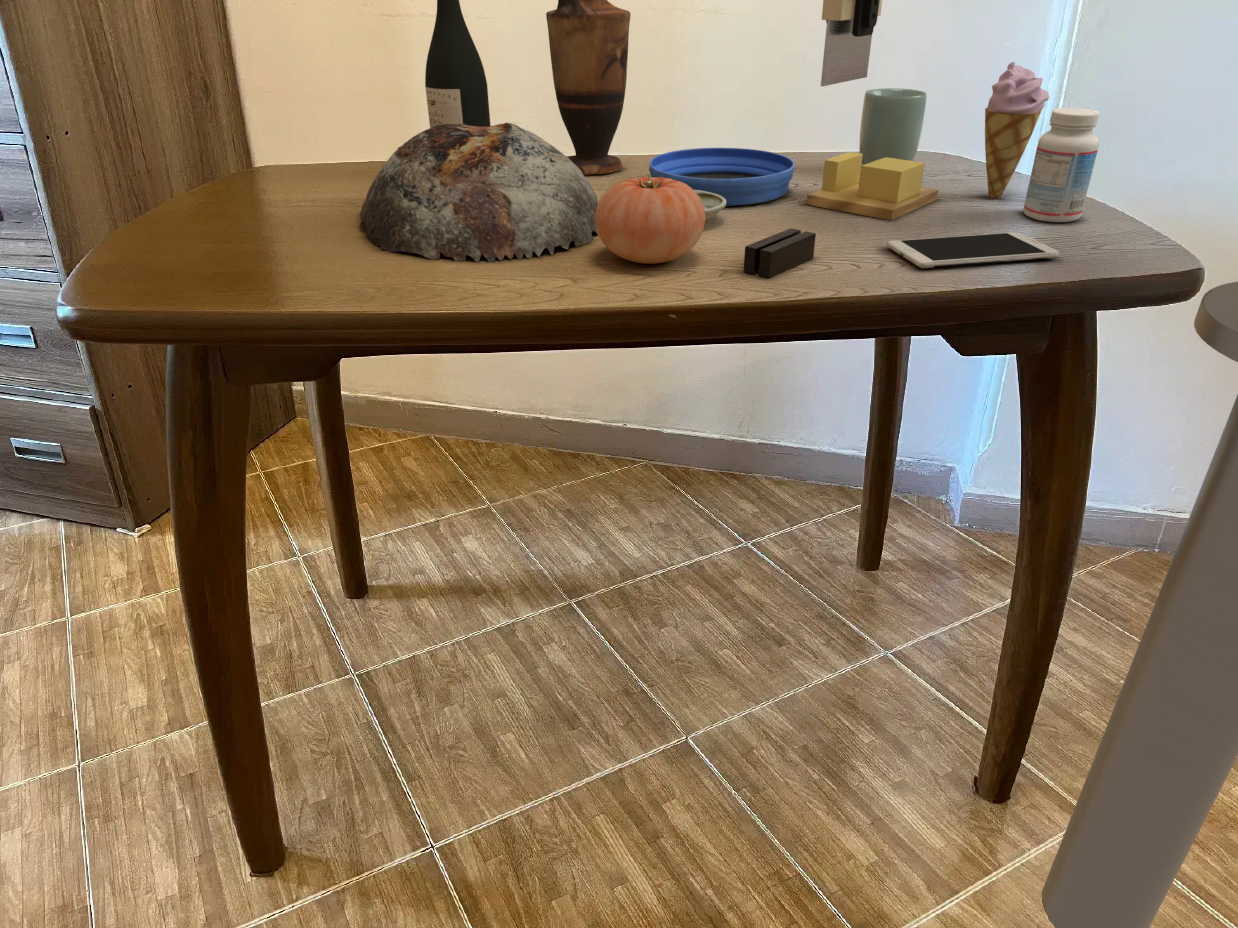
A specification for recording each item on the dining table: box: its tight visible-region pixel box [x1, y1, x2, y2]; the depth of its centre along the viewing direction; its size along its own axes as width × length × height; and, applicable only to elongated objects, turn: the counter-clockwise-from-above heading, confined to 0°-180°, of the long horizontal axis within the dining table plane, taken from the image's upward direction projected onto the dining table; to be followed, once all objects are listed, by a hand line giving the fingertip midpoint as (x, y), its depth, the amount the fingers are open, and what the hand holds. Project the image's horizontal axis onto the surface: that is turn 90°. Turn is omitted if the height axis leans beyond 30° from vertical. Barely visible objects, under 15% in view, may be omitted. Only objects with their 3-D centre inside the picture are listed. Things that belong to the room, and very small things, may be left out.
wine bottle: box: [424, 0, 491, 129], centre depth 112 cm, size 8×8×30 cm
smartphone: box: [886, 231, 1060, 269], centre depth 87 cm, size 8×1×15 cm
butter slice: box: [821, 151, 863, 192], centre depth 106 cm, size 2×6×4 cm, turn 138°
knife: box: [820, 0, 883, 87], centre depth 90 cm, size 2×9×8 cm, turn 137°
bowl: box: [648, 147, 796, 207], centre depth 110 cm, size 18×18×4 cm
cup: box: [858, 88, 928, 165], centre depth 117 cm, size 8×8×10 cm
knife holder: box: [743, 227, 817, 279], centre depth 84 cm, size 3×8×2 cm, turn 138°
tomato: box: [595, 172, 706, 265], centre depth 85 cm, size 11×11×8 cm
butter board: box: [805, 178, 939, 221], centre depth 105 cm, size 11×12×1 cm
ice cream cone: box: [984, 61, 1050, 199], centre depth 103 cm, size 7×6×15 cm
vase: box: [545, 0, 631, 176], centre depth 114 cm, size 11×11×30 cm
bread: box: [359, 122, 599, 263], centre depth 98 cm, size 27×32×10 cm
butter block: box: [858, 157, 926, 203], centre depth 103 cm, size 5×6×4 cm
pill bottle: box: [1023, 107, 1100, 223], centre depth 96 cm, size 6×6×11 cm
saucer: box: [694, 190, 727, 221], centre depth 98 cm, size 10×10×2 cm
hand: (849, 33), depth 90 cm, fingers closed on knife, 2 cm apart
